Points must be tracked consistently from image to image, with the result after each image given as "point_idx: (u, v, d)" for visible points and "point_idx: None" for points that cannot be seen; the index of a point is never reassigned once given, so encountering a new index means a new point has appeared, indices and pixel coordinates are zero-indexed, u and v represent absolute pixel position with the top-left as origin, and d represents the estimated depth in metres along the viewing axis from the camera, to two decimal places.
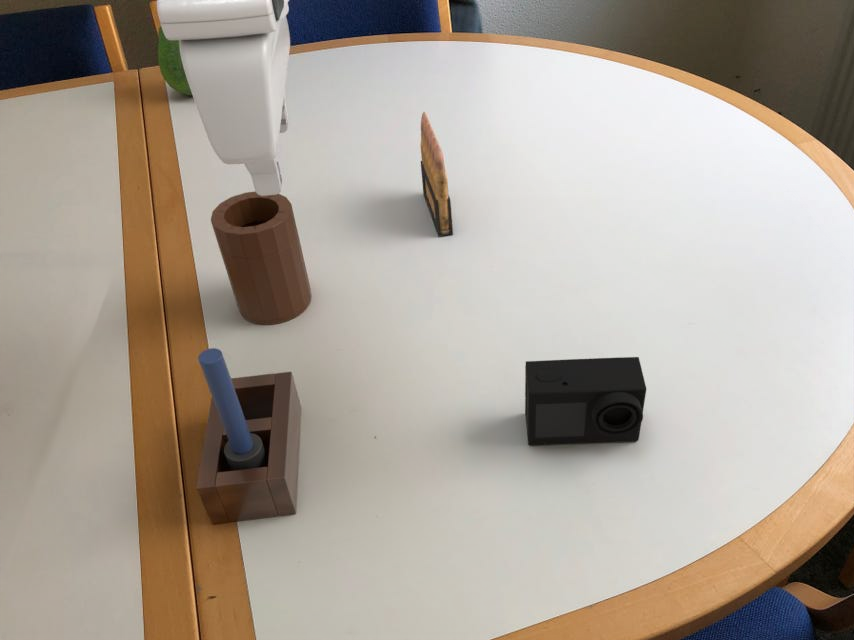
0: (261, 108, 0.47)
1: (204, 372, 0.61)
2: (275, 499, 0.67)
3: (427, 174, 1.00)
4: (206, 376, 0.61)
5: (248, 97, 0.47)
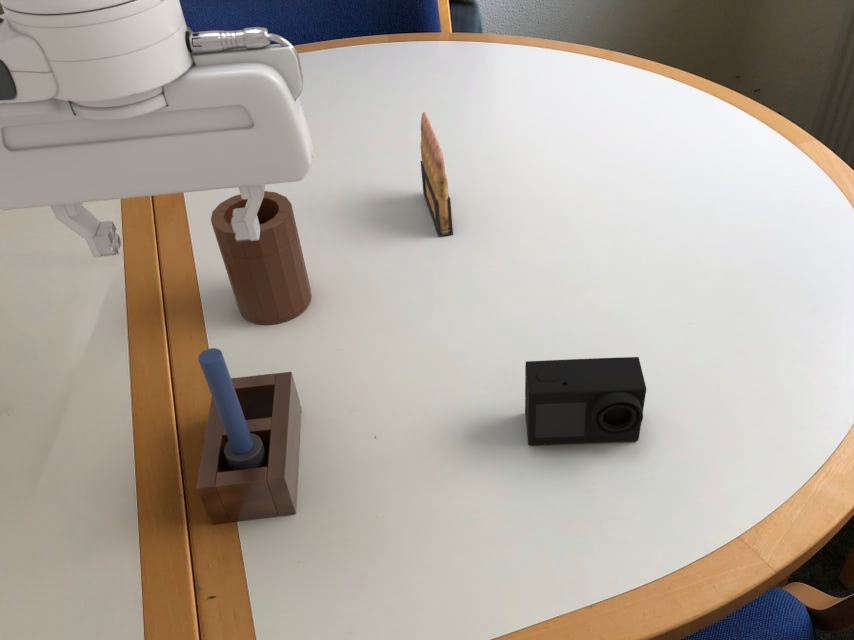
0: None
1: (204, 372, 0.61)
2: (275, 499, 0.67)
3: (427, 174, 1.00)
4: (206, 376, 0.61)
5: None
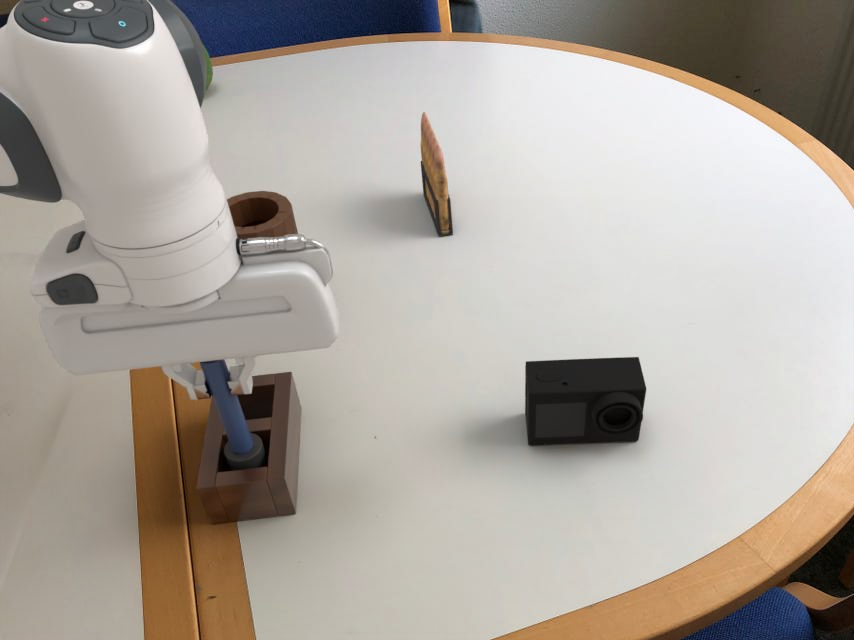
0: None
1: (204, 372, 0.61)
2: (275, 499, 0.67)
3: (427, 174, 1.00)
4: (206, 376, 0.61)
5: None
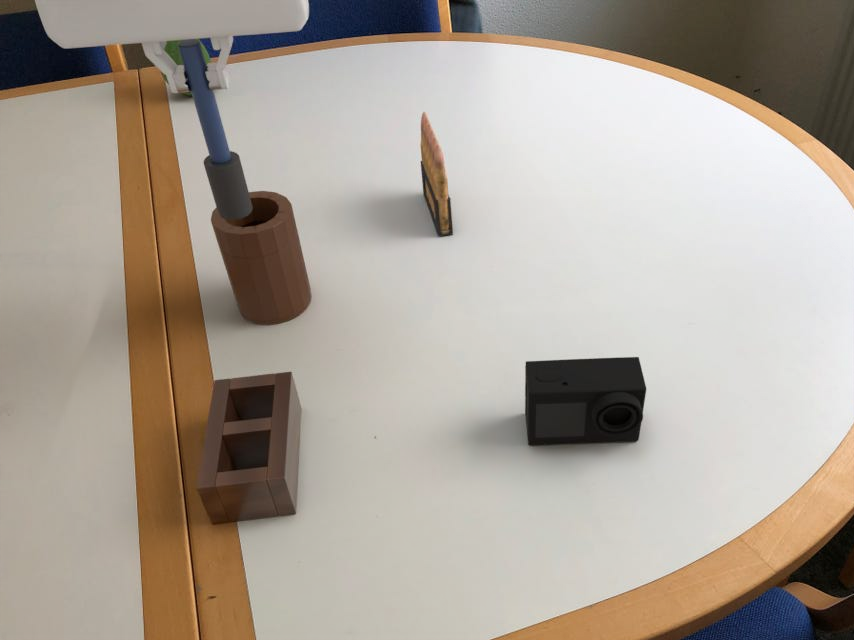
0: None
1: (183, 59, 0.65)
2: (275, 499, 0.67)
3: (427, 174, 1.00)
4: (185, 64, 0.65)
5: None
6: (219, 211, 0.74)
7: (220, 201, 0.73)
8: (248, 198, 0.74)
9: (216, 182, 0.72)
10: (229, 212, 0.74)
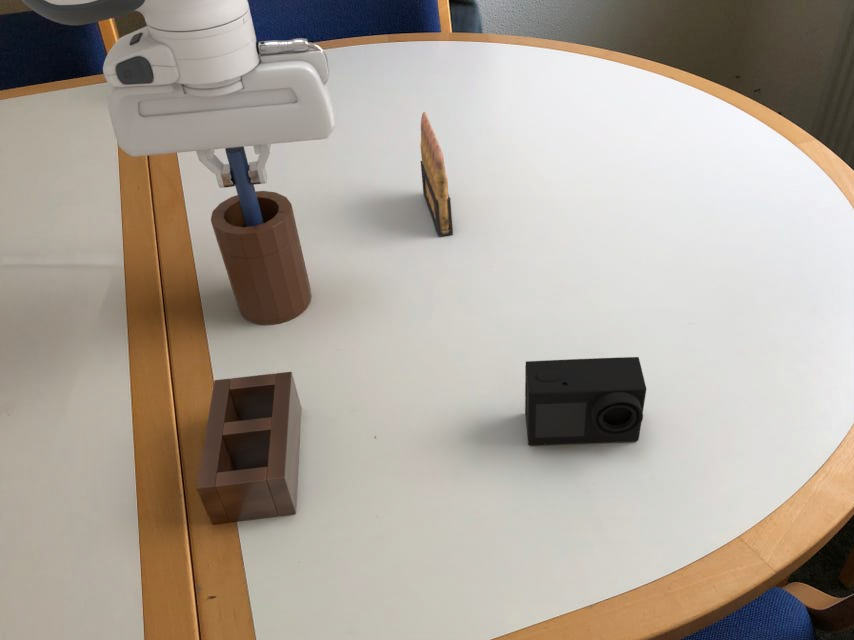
0: None
1: (230, 161, 0.78)
2: (275, 499, 0.67)
3: (427, 174, 1.00)
4: (231, 165, 0.78)
5: None
6: None
7: None
8: None
9: None
10: None
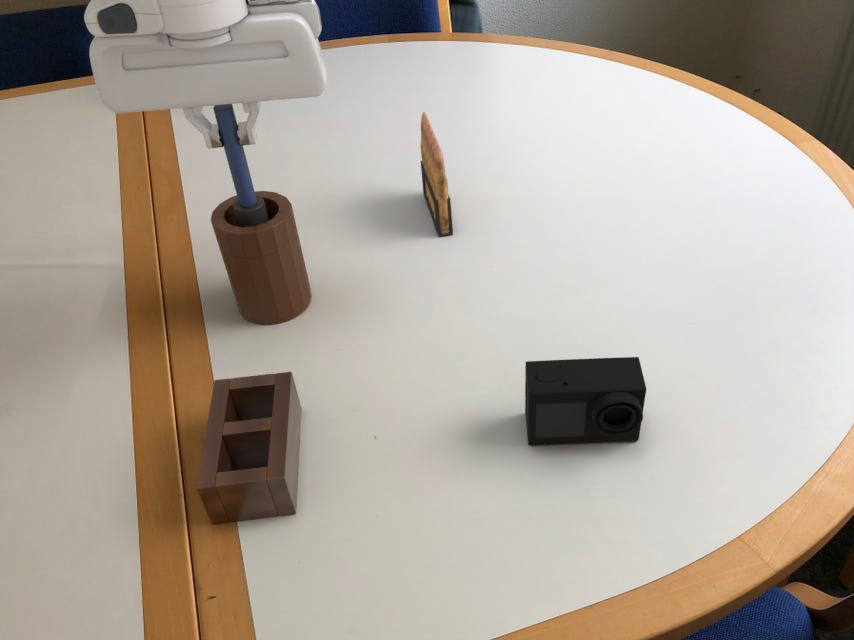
0: None
1: (218, 120, 0.75)
2: (275, 499, 0.67)
3: (427, 174, 1.00)
4: (219, 124, 0.75)
5: None
6: None
7: None
8: None
9: (244, 223, 0.82)
10: None
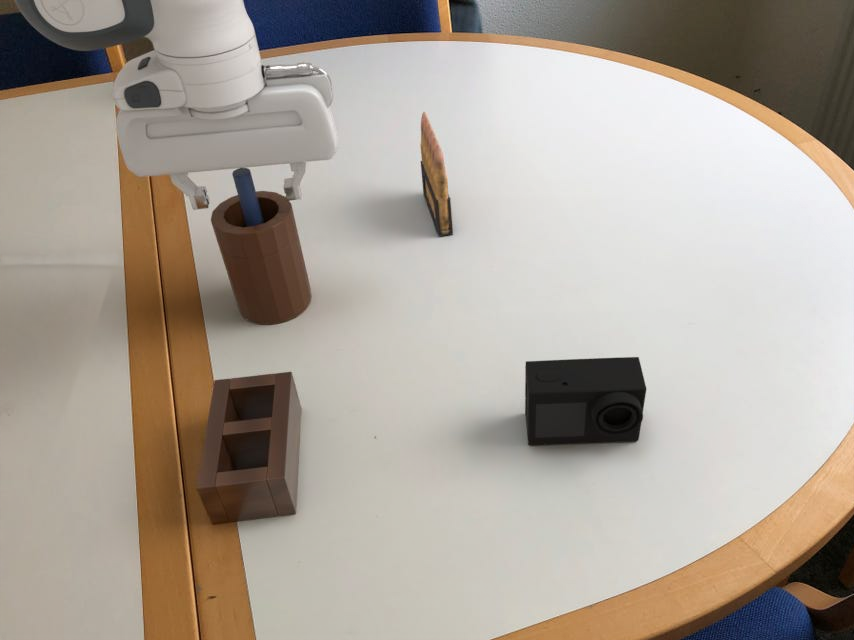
0: None
1: (236, 185, 0.80)
2: (275, 499, 0.67)
3: (427, 174, 1.00)
4: (238, 188, 0.80)
5: None
6: None
7: None
8: None
9: None
10: None
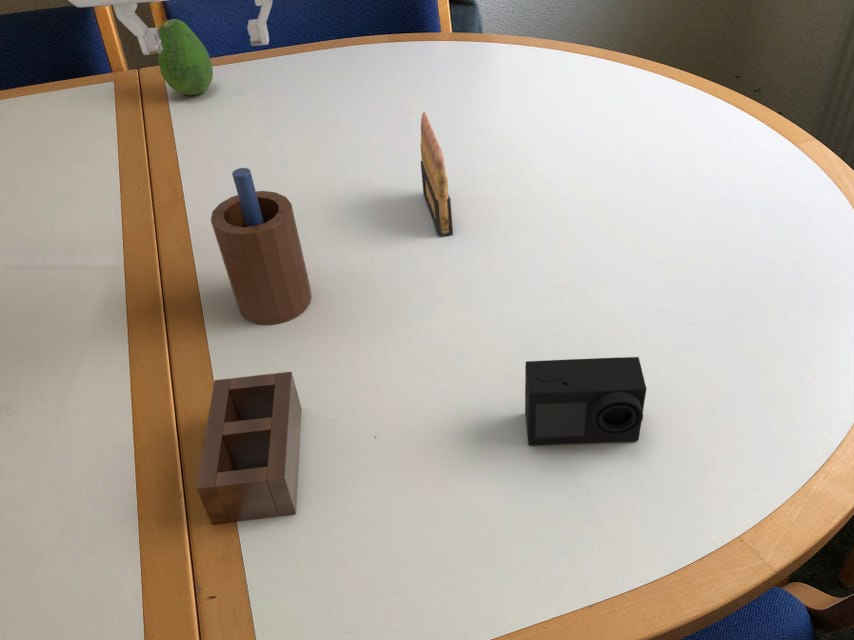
0: None
1: (236, 185, 0.80)
2: (275, 499, 0.67)
3: (427, 174, 1.00)
4: (238, 188, 0.80)
5: None
6: None
7: None
8: None
9: None
10: None
